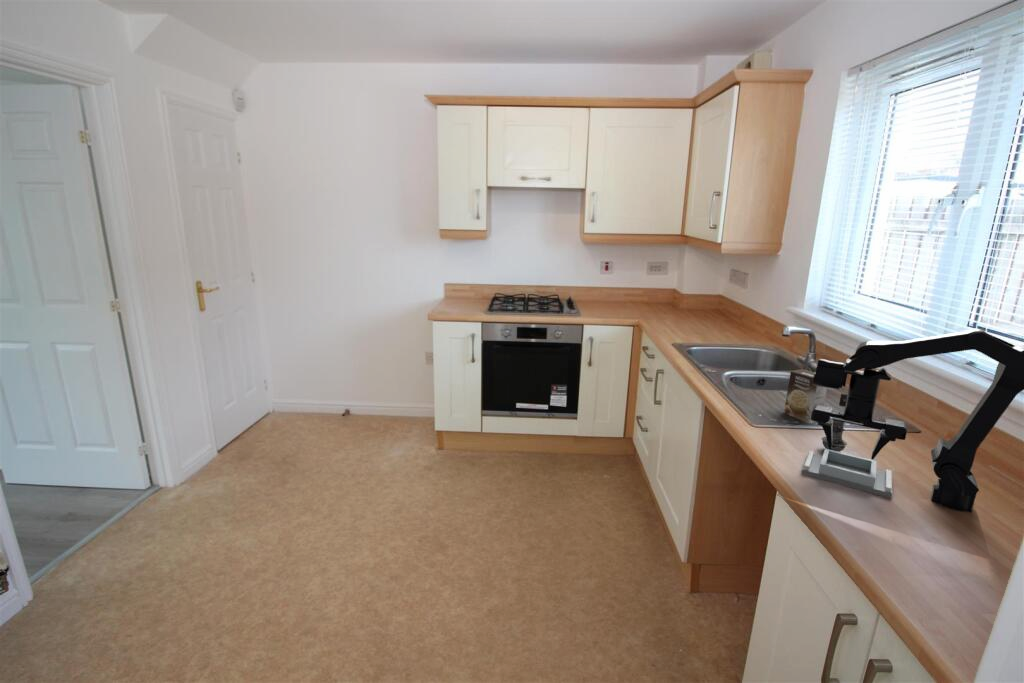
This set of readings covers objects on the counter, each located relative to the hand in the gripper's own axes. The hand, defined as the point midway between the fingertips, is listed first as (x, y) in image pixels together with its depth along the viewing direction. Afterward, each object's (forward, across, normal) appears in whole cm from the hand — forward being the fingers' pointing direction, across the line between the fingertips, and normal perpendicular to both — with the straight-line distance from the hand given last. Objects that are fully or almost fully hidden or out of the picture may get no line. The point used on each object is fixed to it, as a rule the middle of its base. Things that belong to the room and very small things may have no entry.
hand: (850, 453), depth 120 cm
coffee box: (+6, +14, -34) cm, 37 cm away
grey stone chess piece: (+6, +4, -13) cm, 15 cm away
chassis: (+6, 0, 0) cm, 6 cm away
